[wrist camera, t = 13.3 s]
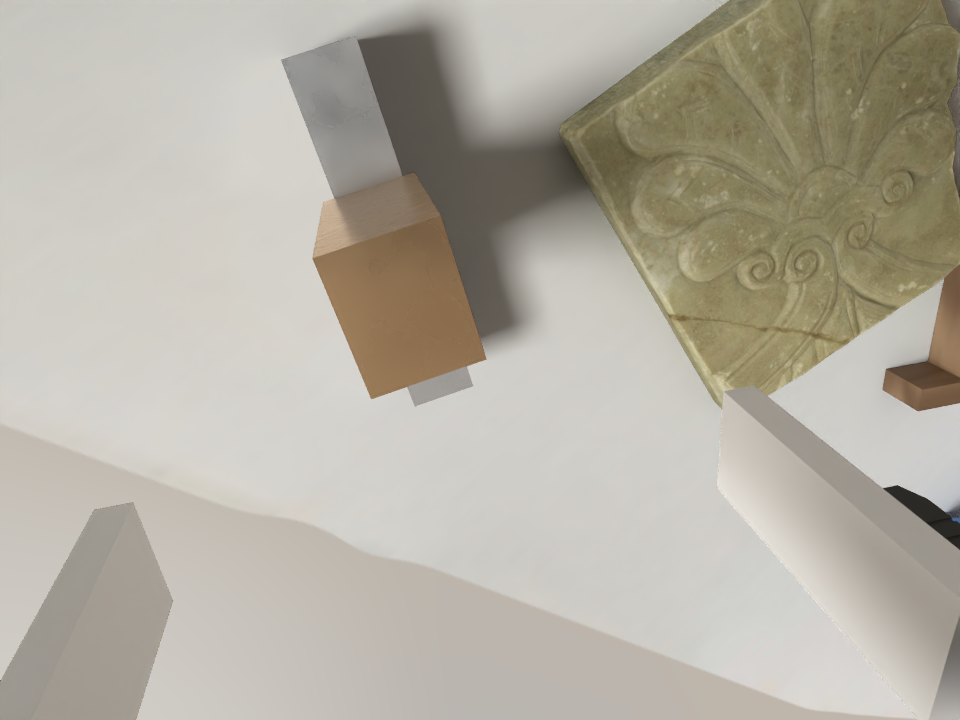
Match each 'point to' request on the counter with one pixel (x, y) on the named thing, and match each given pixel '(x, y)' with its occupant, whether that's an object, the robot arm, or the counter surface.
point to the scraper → (381, 239)
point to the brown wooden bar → (934, 358)
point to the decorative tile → (782, 177)
